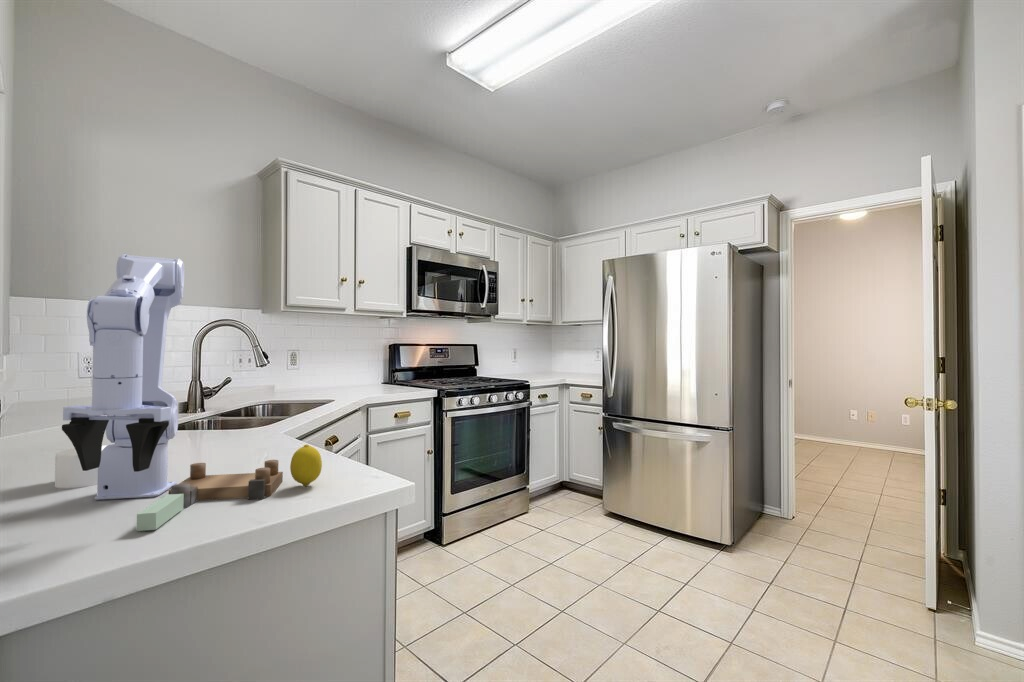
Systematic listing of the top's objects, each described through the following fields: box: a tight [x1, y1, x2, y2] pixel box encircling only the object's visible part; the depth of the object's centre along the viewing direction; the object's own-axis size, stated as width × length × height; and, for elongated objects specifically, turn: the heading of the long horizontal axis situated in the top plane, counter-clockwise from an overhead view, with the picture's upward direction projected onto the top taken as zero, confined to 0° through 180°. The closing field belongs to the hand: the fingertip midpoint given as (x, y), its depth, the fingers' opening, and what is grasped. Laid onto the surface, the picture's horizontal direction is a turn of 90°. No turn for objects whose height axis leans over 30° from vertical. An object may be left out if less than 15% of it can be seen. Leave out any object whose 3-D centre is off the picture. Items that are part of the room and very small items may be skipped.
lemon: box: [289, 444, 323, 487], centre depth 91 cm, size 6×6×8 cm
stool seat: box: [168, 459, 284, 509], centre depth 85 cm, size 16×13×4 cm
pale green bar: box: [136, 493, 184, 532], centre depth 72 cm, size 9×2×2 cm, turn 14°
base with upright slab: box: [54, 445, 107, 489], centre depth 93 cm, size 9×9×12 cm
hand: (116, 469), depth 70 cm, fingers open, 7 cm apart
